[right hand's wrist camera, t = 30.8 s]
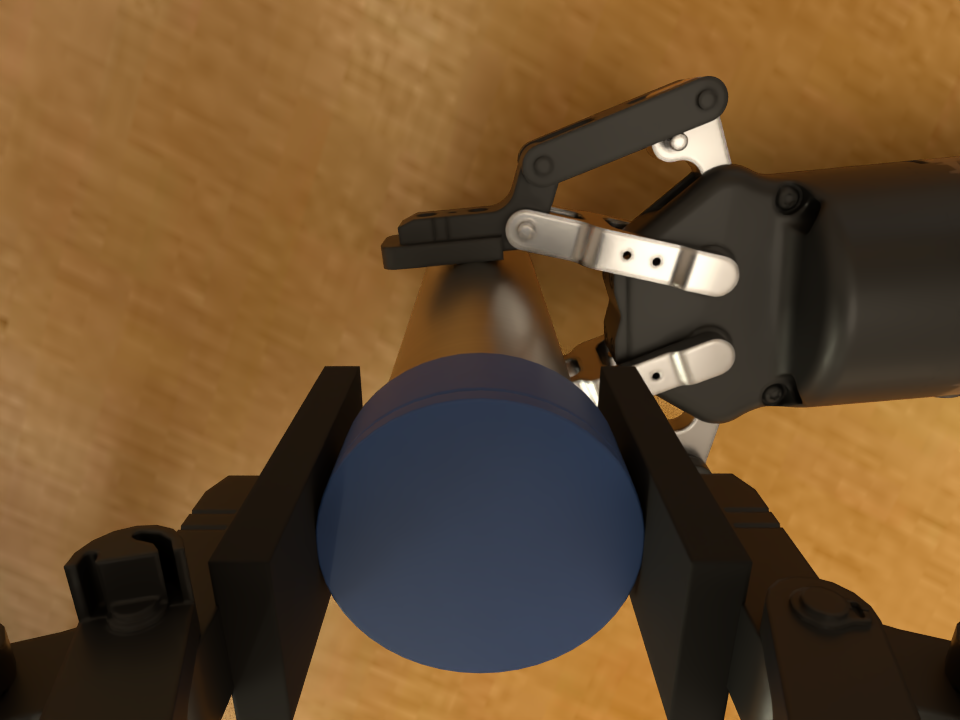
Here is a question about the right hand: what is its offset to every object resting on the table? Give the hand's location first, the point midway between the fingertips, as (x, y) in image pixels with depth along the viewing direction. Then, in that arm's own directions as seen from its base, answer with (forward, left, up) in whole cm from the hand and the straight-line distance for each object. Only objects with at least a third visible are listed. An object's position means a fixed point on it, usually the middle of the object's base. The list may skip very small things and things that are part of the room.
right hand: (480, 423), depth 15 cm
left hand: (-2, -1, -7) cm, 8 cm away
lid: (0, 0, +4) cm, 4 cm away
